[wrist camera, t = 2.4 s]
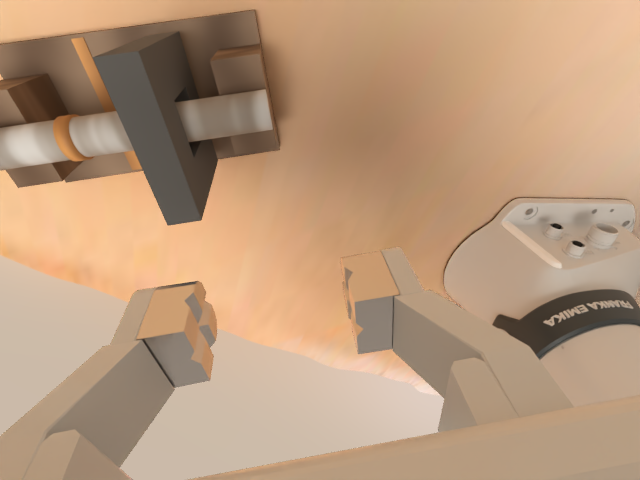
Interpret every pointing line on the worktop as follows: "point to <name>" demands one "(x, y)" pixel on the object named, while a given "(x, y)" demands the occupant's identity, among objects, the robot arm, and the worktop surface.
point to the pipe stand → (99, 112)
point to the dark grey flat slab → (160, 121)
